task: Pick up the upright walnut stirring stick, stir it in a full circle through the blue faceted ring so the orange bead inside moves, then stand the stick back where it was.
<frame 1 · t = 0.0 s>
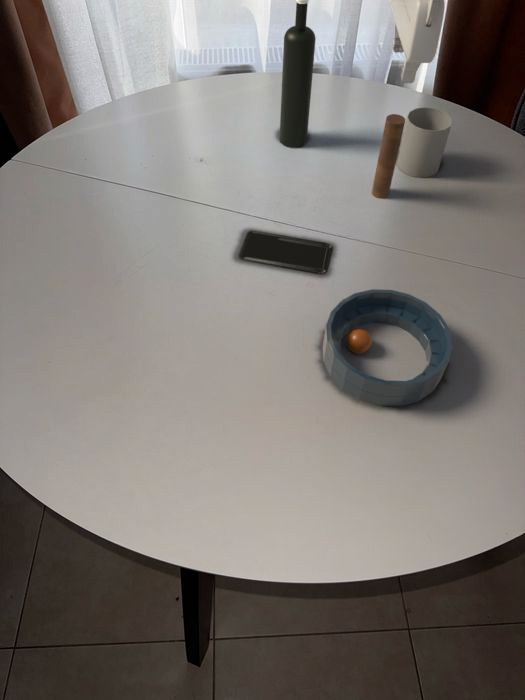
hand: (402, 65, 86), 27 cm above the table, tool pointing down, fingers open, 8 cm apart
blue faceted ring: (381, 360, 86), on the table
stirring stick: (379, 197, 110), on the table
bead: (359, 341, 85), point 2 cm above the table, touching blue faceted ring
phone: (285, 256, 99), on the table
cup: (417, 166, 117), on the table
wine bottle: (293, 141, 122), on the table
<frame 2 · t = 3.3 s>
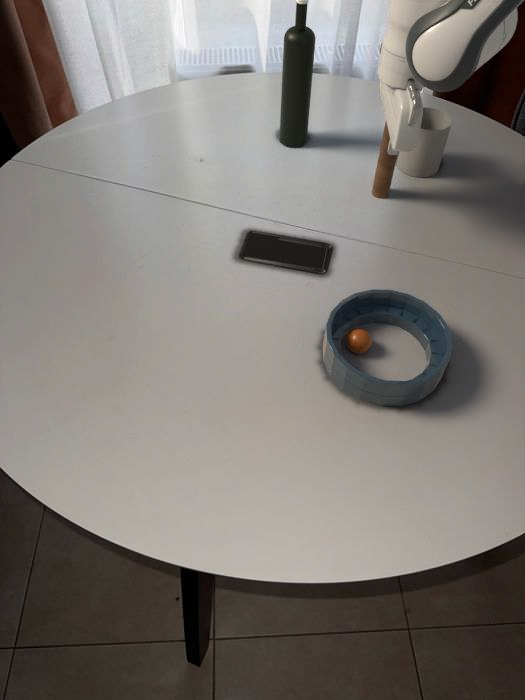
hand: (390, 145, 101), 11 cm above the table, tool pointing down, fingers closed on stirring stick, 3 cm apart
stirring stick: (379, 197, 110), on the table, touching gripper
everything else where it was.
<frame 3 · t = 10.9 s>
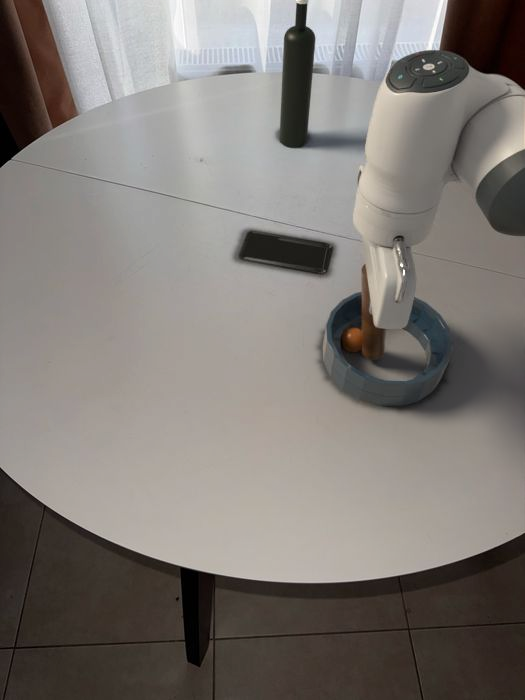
hand: (373, 297, 75), 13 cm above the table, tool pointing down, fingers closed on stirring stick, 3 cm apart
stirring stick: (373, 351, 83), point 2 cm above the table, tilted 9°, touching bead, gripper
bead: (353, 339, 85), point 2 cm above the table, tilted 25°, touching blue faceted ring, stirring stick
everything else where it was.
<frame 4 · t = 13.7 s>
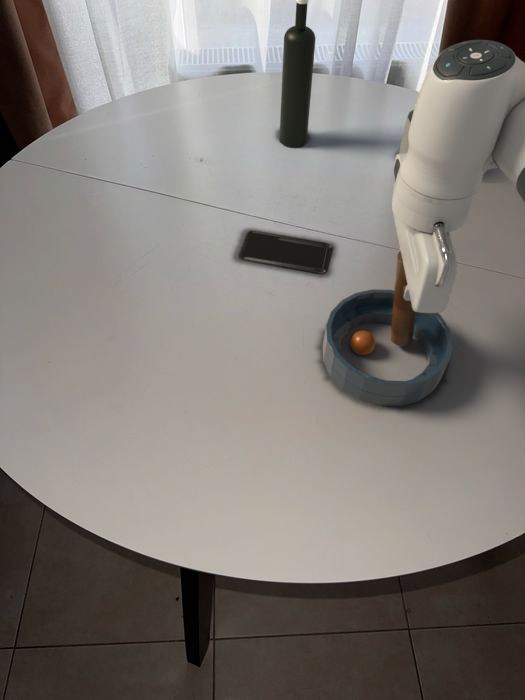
hand: (406, 284, 77), 13 cm above the table, tool pointing down, fingers closed on stirring stick, 3 cm apart
stirring stick: (401, 337, 85), point 2 cm above the table, tilted 8°, touching gripper
bead: (362, 342, 84), point 2 cm above the table, tilted 20°, touching blue faceted ring
everything else where it was.
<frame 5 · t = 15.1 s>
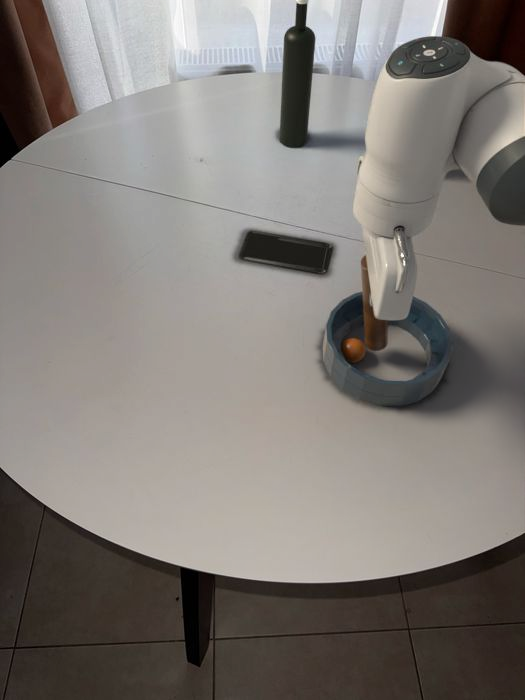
hand: (374, 289, 74), 14 cm above the table, tool pointing down, fingers closed on stirring stick, 3 cm apart
stirring stick: (376, 342, 83), point 4 cm above the table, tilted 11°, touching gripper
bead: (352, 350, 83), point 2 cm above the table, tilted 60°, touching blue faceted ring
everything else where it was.
when the fingers open (11 cm above the table, at t = 24.4 s): stirring stick stays where it is, on the table.
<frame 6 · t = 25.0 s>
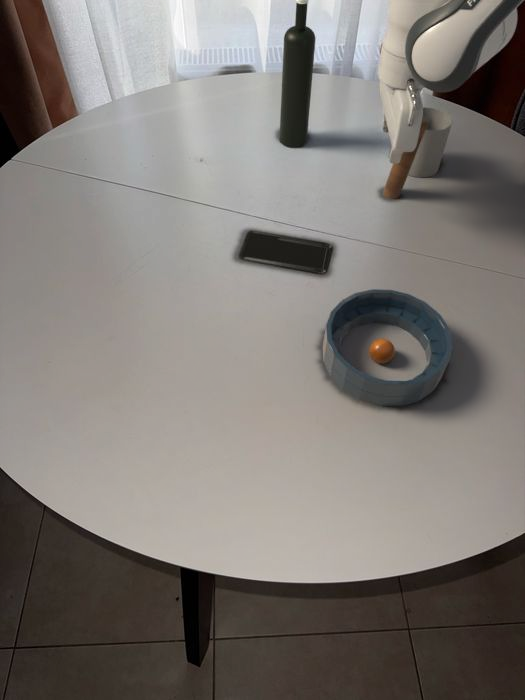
hand: (390, 145, 101), 11 cm above the table, tool pointing down, fingers open, 8 cm apart
stirring stick: (390, 197, 110), on the table, tilted 8°
bead: (382, 351, 84), point 2 cm above the table, tilted 94°, touching blue faceted ring
everything else where it was.
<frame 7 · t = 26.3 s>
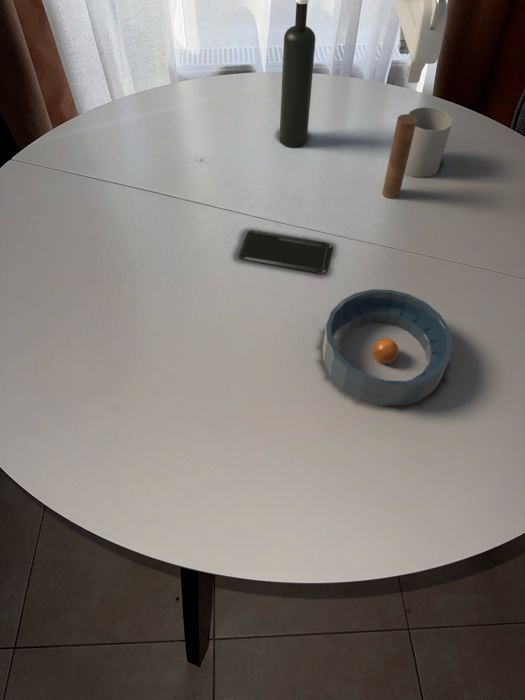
hand: (407, 65, 90), 25 cm above the table, tool pointing down, fingers open, 8 cm apart
stirring stick: (389, 198, 110), on the table
bead: (385, 351, 84), point 2 cm above the table, tilted 105°, touching blue faceted ring
everything else where it was.
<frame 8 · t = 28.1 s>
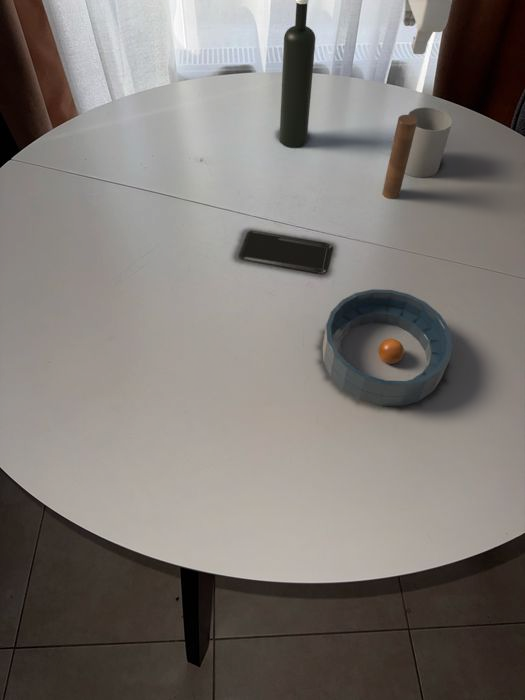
hand: (412, 37, 87), 29 cm above the table, tool pointing down, fingers open, 8 cm apart
bead: (391, 351, 84), point 2 cm above the table, tilted 118°, touching blue faceted ring
everything else where it was.
at the end: bead moved 4.8 cm from its start; bead inside the target area in the blue faceted ring (1.0 cm from its centre), point 2.4 cm above the blue faceted ring's base; stirring stick inside the target area (2.0 cm from its centre), on the table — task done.
